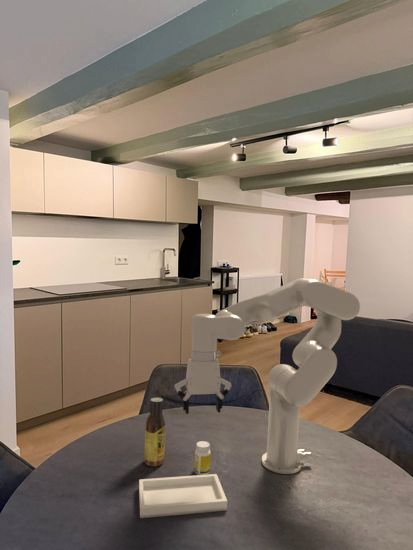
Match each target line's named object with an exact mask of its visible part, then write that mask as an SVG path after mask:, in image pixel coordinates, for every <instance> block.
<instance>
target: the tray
mask: <svg viewBox="0 0 413 550" xmlns="http://www.w3.org/2000/svg"><path fill="white" fill-rule="evenodd" d="M138 482H139V483H138V496H139V499H138V500H139V519H146V518H148V519H149V518H158V517H169V516H171V517H172V516H181V515H191V514H193V515H194V514H201V513H213V512H222V511H223V512H224V511H225V512H226V511H228V499H227V497H226V494H225V491H224V489H223V487H222V484H221V482H220V479H219V477H218V474H217V473H213V474H211V473H208V474H207V475H198V474H196V475H185V476H184V475H182V476H172V477H171V476H170V477H169V476H168V477H156V478H153V477H152V478H144V479H143V478H142V479H139V481H138Z"/></svg>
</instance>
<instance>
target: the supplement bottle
mask: <svg viewBox="0 0 413 550" xmlns="http://www.w3.org/2000/svg"><path fill="white" fill-rule="evenodd" d="M210 447H211V446H210V443H209V442H208V441H205V440H202V441H201V440H200V441H198V442H196V449H195V451H194V468H193V469H194V473H195V474H196V475H209V474H210V471H211V456H212V455H211V452H212V451H211V449H210Z"/></svg>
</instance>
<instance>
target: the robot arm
mask: <svg viewBox="0 0 413 550" xmlns="http://www.w3.org/2000/svg"><path fill="white" fill-rule="evenodd" d="M303 307H308V308H311V309H314V310H315V311H316V313H317V317H316V322H315V323H314V325H313V326H312V328H311V329H310V331H309V332H307V334H306V335H305V336H304V337H303V338H302V339H301V341H300V342H299V343H298V344H297V345H296V346H295V347H294V349H293V351H292V356H291V357H292V360H293V362H294V364H295V365H296V366H298V369H297V368H294V367H293V366H291V365H290V364H284V363H282V364H281V363H279V364H277V365H275V366H273V367H272V368H271V369H270V371H269V374H268V376H267V391H268V422H267V423H268V424H267V440H266V441H267V443H266V452H265V453H263V454H262V456H261V464H262V466H264V467H265V469H267V470H269V471H271V472H273V473H276V474H281V475H293V474H296V473H299V472H300V471H301V470H302V467H303V463H302V461H303V460H304V459H312V458H313V455H312V452H311V451H306V452H305V449H304V448H303V449H301V448H300V449H298V448H299V446H298V445H299V430H300V429H299V426H300V425H299V424H300V407H304V406H306V405H308V404H309V403H310V402H312V401H313V399H314V398H315V397H316V396H317V395H318V394H319V392H321V390H323V388H324V387H325V385H326V384H327V383H328V382H329V381H330V379H331V378H332V377H333V375H334V374H335V372H336V370H337V366H338V358H337V355H336V353H335V352H334V351H333V350H332V348H333V347H334V346H335V345H336V343H337V342H338V340H339V339H340V336H341V334H342V320H343V321H350V320H353V319H354V318H355V317H357V316H358V314H359V313H360V310H361V304H360V300H359V299H358V297H357V296H356V295H355V294H354V293H352V292H349V291H347V290H344V289H341V288H339V287H336V286H334V285H331V284H329V283H326V282H324V281H322V280H318V279H313V278H303V277H301V278H297V279H295V280H294V279H293V280H292V281H289V282H287V283H286V284H283V285H281V286H279V287H277V288H274V289H273V290H269V291H267V292H266V293H264V294H261V295H257V296H255V297H252V298H248V299H245V300H241V301H238V302H237V303H234V304H232V305H230V306H227V307H226V308H224V309H221V310H219V311H218V312H217V313H216V314H212V313H197V314H194V315H193V316H192V320H191V321H192V322H191V323H192V325H191V358H189V359H188V360H187V366H186V375H185V378H184V379H181V381H179V382H177V383H175V384H174V389H175V391H176V393H177V395H178V396H179V398H181V399H182V409H183V411H185V415H189V410H190V409H189V408H190V401H189V399H190V397H191V396H192V395H210V394H211V395H212V394H214V395H215V394H216V397H215V399H216V400H215V401H216V402H215V409H216V411H217V413H221V410H222V409H223V400H224V398H225V397H226V395H228V393H229V391H230V389H231V388H232V383H231V382H230V381H228V380H226V379H224V378H221V369H220V368H221V367H220V362H219V361H220V360H219V359H218V357H221V356H222V351H221V350H218V348H217V346H218V345H217V344H218V339H219V340H225V341H226V340H228V341H235V340H236V341H237V340H238V339H240V338H242V336H243V335H244V333H245V330H246V326H245V325H247V324H249V323H254V322H258V321H259V322H261V321H274V320H276V319H279V318H281V317H283V316H285V315H288V314H290V313H291V312H293V311H297V310H298V309H300V308H303ZM221 385H224V387H223V389H222V390H221ZM184 386H185V389H186V390H185V391H182V389H181V388H182V387H184Z"/></svg>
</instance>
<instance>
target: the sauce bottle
mask: <svg viewBox="0 0 413 550" xmlns="http://www.w3.org/2000/svg"><path fill="white" fill-rule="evenodd" d="M163 405H164V399H163V398H161V397H152V398H150V401H149V406H150V409H149V410H150V411H149V415H148V416H147V418H146V422H145V431H144V451H143V452H144V454H143V458H144V464H145V465H146V466H148V467H152V468H153V467H158V466H159V467H160V466H161V465H163V463H164V459H165V451H166V449H165V443H166V426H167V424H166V421H165V418H164V414H163Z"/></svg>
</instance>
